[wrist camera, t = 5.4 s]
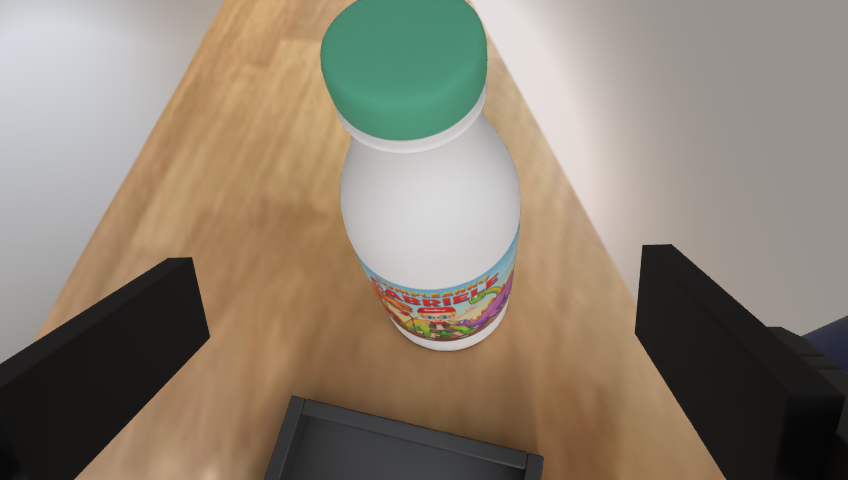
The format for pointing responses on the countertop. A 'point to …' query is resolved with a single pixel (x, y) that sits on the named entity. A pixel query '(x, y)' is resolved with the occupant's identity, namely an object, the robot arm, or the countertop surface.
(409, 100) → the milk bottle
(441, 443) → the dock tray
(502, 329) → the countertop surface
